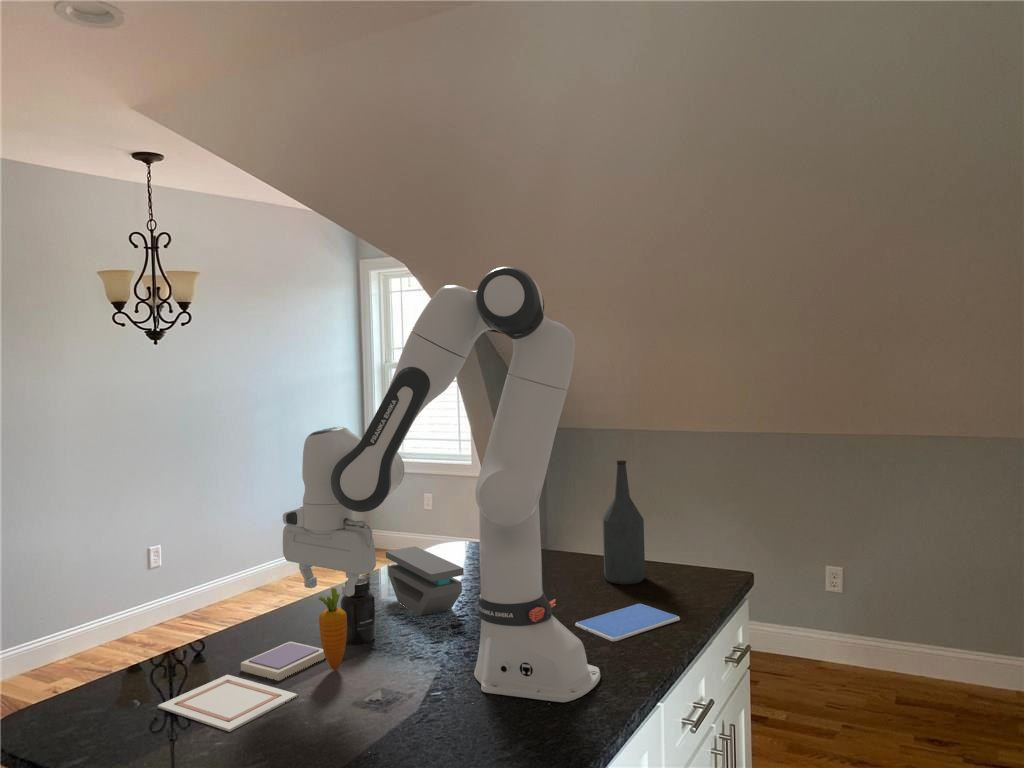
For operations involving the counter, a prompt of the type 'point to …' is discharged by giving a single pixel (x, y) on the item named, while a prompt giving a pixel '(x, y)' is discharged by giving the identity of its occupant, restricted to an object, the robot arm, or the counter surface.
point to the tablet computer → (627, 622)
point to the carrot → (333, 630)
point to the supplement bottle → (359, 614)
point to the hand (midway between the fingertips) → (329, 591)
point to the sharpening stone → (424, 580)
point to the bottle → (623, 535)
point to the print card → (227, 702)
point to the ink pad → (283, 660)
